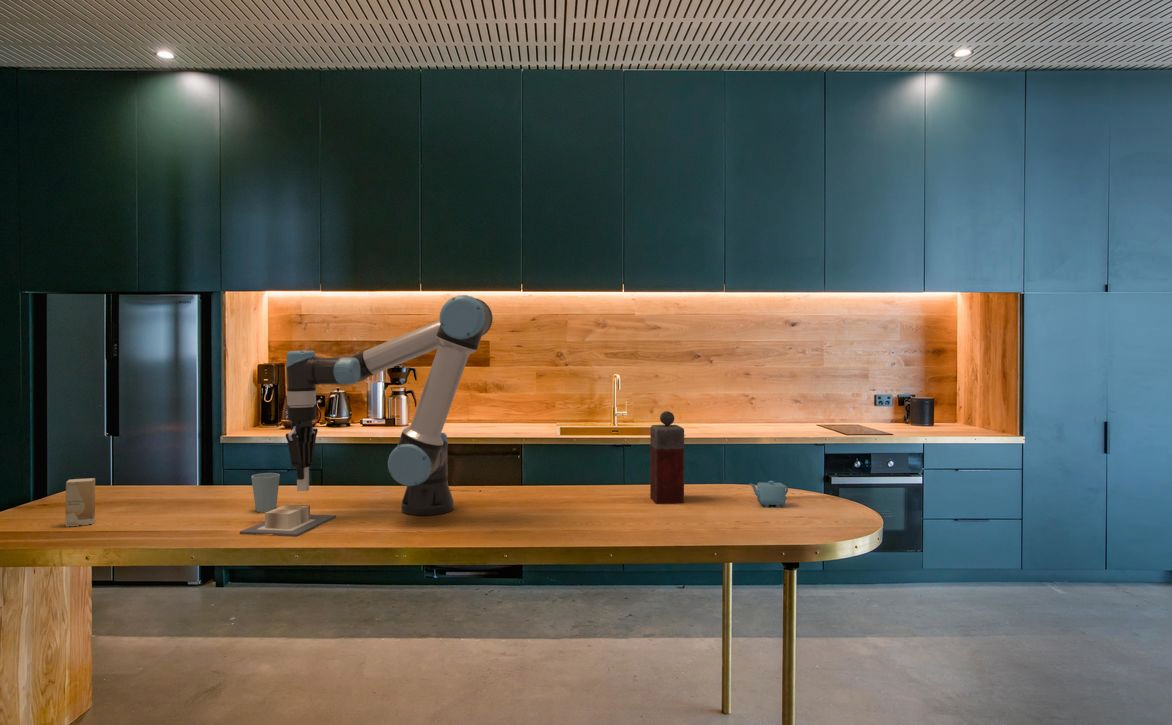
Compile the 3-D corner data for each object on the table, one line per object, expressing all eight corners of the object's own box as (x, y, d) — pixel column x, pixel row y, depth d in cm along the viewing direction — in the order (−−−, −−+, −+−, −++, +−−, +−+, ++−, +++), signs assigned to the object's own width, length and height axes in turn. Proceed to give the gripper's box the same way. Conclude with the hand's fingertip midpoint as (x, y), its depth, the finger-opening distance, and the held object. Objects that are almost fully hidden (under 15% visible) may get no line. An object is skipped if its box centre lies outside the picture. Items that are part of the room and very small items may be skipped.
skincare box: (65, 527, 191) (64, 482, 191) (68, 523, 195) (67, 479, 195) (94, 524, 194) (93, 480, 194) (96, 521, 198) (95, 477, 198)
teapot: (750, 507, 215) (750, 482, 214) (746, 503, 221) (746, 478, 220) (790, 508, 214) (790, 483, 214) (785, 503, 220) (785, 479, 220)
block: (309, 505, 197) (289, 513, 187) (310, 519, 197) (289, 529, 187) (286, 504, 198) (264, 512, 188) (286, 518, 198) (264, 528, 188)
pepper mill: (676, 495, 231) (676, 409, 231) (684, 503, 220) (684, 412, 219) (648, 496, 230) (648, 409, 230) (655, 503, 219) (655, 412, 219)
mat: (336, 517, 202) (336, 515, 202) (296, 536, 183) (296, 533, 183) (284, 515, 205) (284, 513, 205) (239, 533, 185) (239, 531, 185)
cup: (280, 511, 209) (279, 476, 209) (251, 514, 206) (251, 478, 206) (280, 506, 216) (279, 472, 216) (252, 508, 213) (251, 474, 213)
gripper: (301, 404, 206) (302, 485, 206) (275, 408, 193) (277, 495, 194) (326, 404, 205) (327, 486, 205) (301, 408, 192) (303, 495, 192)
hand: (303, 490), depth 199 cm, fingers closed
